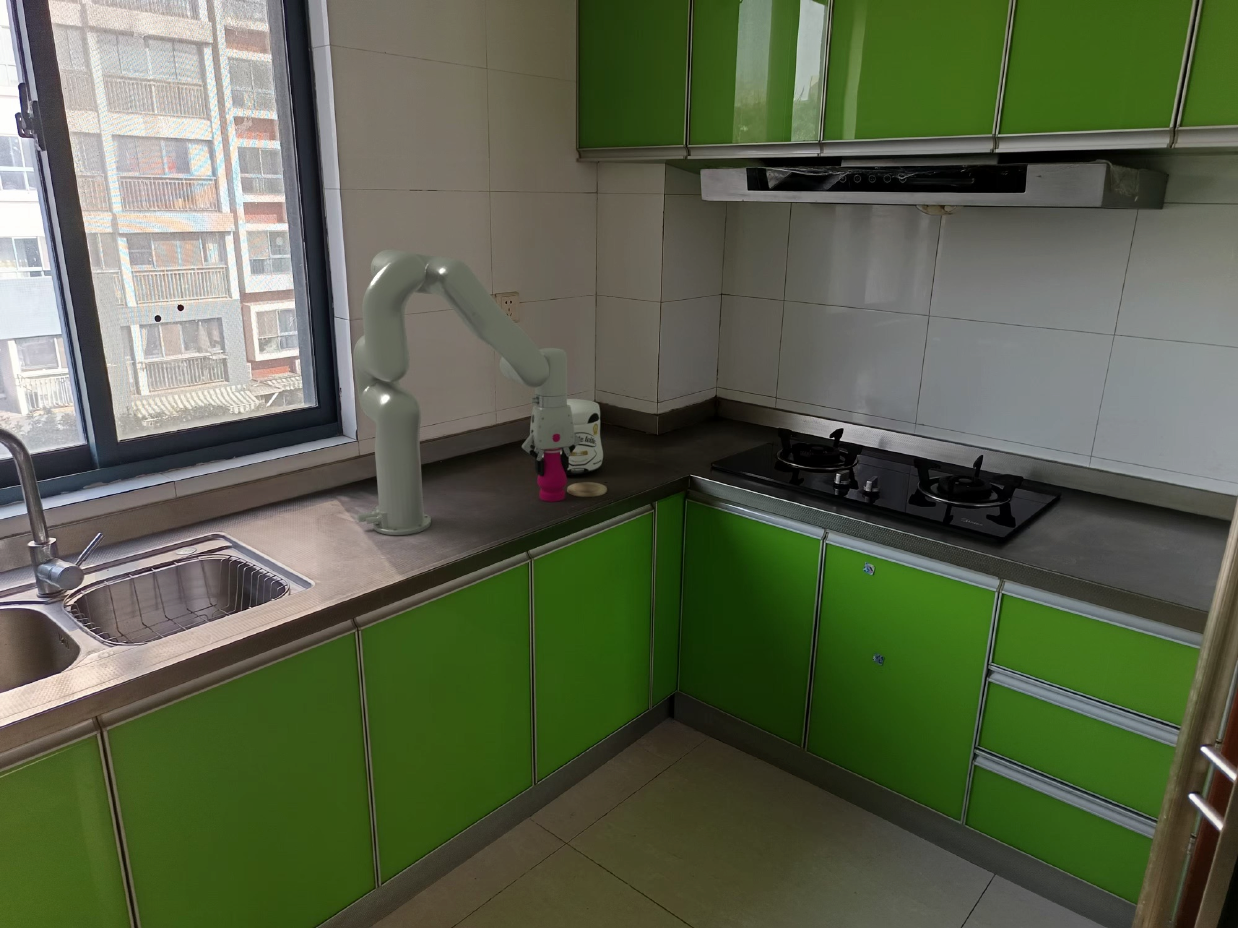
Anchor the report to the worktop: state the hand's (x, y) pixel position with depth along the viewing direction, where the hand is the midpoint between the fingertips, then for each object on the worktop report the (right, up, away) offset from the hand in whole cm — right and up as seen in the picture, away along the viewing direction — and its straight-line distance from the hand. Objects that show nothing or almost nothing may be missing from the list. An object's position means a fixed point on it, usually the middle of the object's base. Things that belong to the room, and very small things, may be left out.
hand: (552, 472), depth 217 cm
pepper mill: (0, -6, +2) cm, 7 cm away
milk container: (+3, 0, +24) cm, 25 cm away
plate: (+8, -5, +7) cm, 12 cm away
